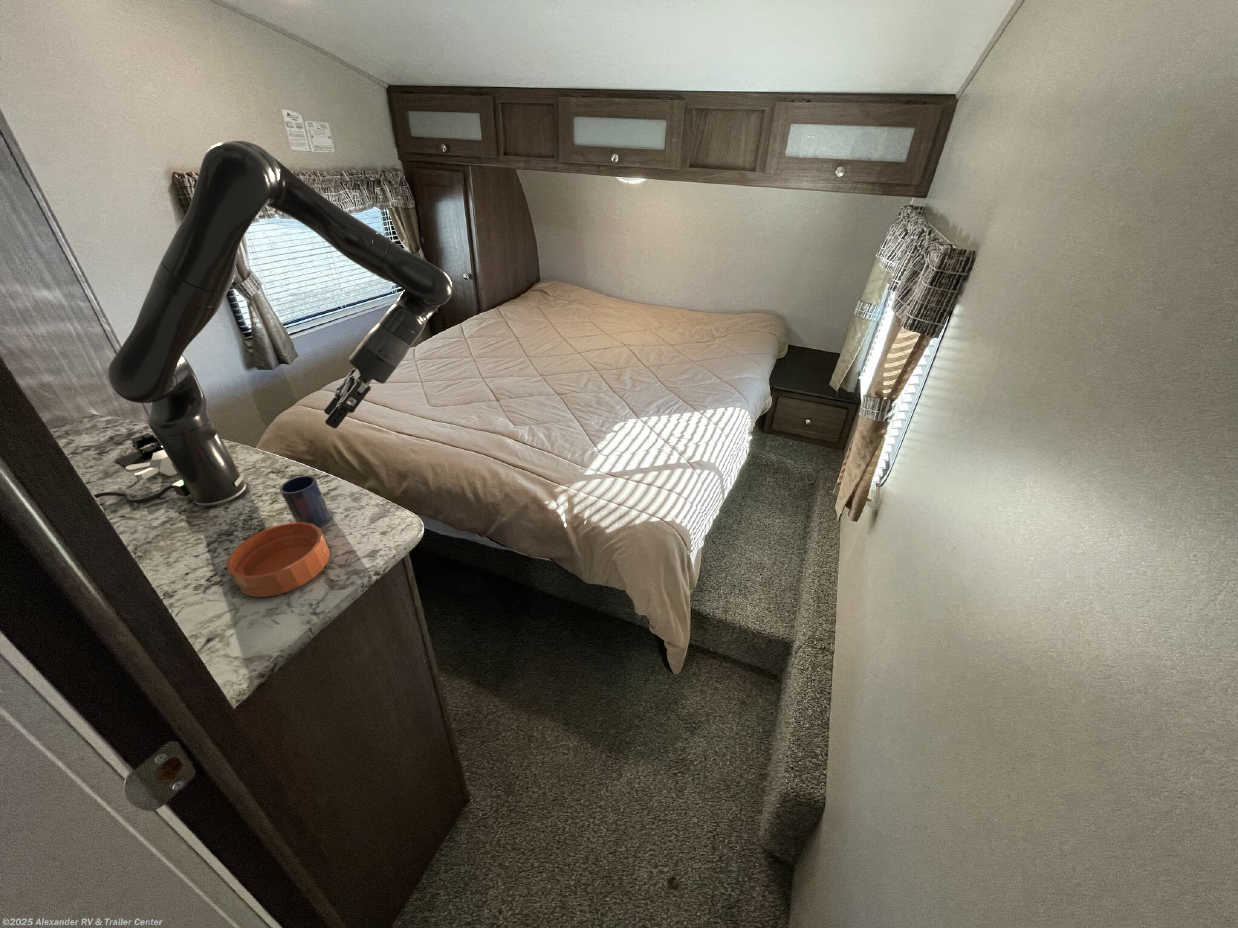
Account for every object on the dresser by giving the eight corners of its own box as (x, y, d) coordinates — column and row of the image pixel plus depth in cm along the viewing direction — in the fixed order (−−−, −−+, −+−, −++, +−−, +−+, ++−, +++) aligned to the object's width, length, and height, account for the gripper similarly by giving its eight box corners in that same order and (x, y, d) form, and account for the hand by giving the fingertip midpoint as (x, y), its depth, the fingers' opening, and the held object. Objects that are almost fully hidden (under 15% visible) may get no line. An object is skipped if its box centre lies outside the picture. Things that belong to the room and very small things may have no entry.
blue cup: (290, 527, 97) (272, 490, 92) (313, 509, 102) (297, 473, 97) (314, 532, 96) (297, 495, 91) (337, 514, 101) (322, 477, 96)
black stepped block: (128, 468, 117) (116, 452, 115) (115, 461, 120) (103, 444, 118) (186, 445, 126) (177, 429, 124) (173, 438, 129) (163, 423, 127)
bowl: (219, 589, 83) (205, 568, 81) (288, 536, 95) (277, 516, 92) (285, 606, 80) (273, 585, 77) (348, 549, 91) (339, 529, 89)
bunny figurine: (215, 446, 117) (134, 469, 106) (222, 465, 119) (144, 490, 108) (197, 436, 121) (118, 458, 110) (204, 455, 124) (127, 478, 112)
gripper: (359, 337, 99) (309, 401, 98) (365, 345, 87) (309, 418, 86) (392, 360, 103) (345, 421, 102) (403, 371, 92) (350, 440, 91)
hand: (329, 420), depth 94 cm, fingers open, 8 cm apart
